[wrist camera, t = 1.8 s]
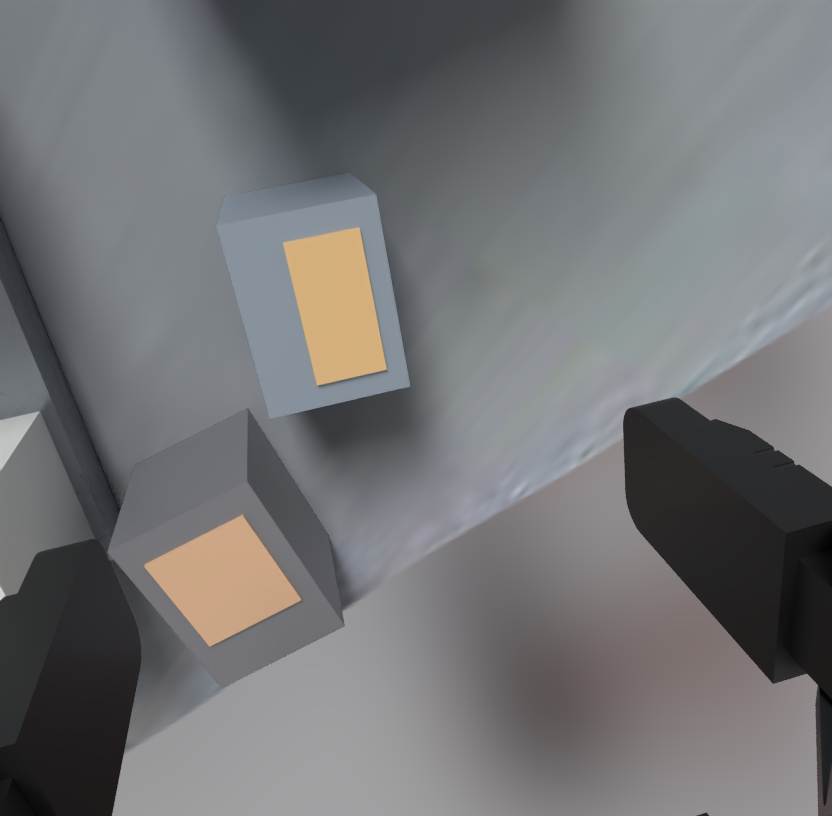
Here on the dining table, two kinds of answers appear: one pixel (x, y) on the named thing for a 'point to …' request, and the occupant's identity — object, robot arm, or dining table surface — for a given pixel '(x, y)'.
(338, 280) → the block
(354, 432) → the dining table surface
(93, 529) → the rail
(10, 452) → the mounted modules
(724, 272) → the dining table surface
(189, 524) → the block
